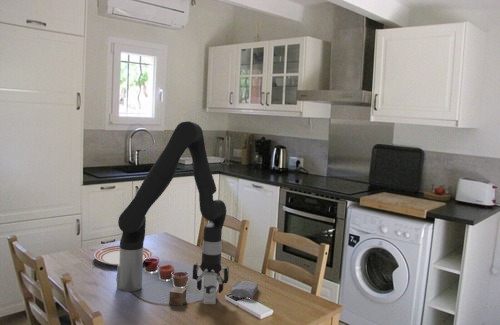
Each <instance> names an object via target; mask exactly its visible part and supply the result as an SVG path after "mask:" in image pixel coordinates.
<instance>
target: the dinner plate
mask: <svg viewBox="0 0 500 325" xmlns="http://www.w3.org/2000/svg"><path fill="white" fill-rule="evenodd" d="M93 256H94V259H95V260H96V261H99V262H101V263H102V264H106V265H110V266H114V267H117V266H118V265H119V264H120V244H116V245H110V246H106V247H102V248H99V249H97V250H96V251H95V252H94V254H93ZM153 257H154V252H153V251H152V250H151V249H149V248H147V247H144V246H143V263H144V259H145V258H151V259H152V258H153Z"/></svg>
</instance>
